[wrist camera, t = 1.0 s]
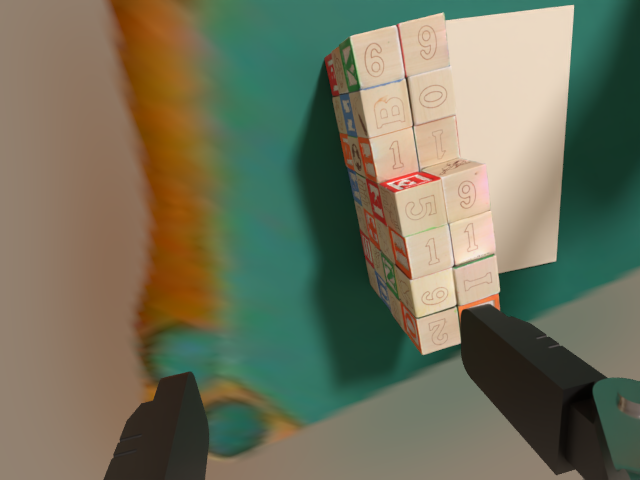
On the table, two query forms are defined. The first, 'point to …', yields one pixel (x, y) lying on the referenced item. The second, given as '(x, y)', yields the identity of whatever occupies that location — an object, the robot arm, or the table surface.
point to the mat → (515, 121)
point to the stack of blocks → (414, 179)
